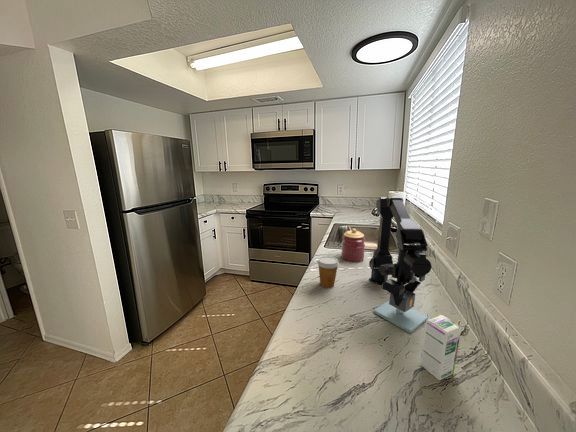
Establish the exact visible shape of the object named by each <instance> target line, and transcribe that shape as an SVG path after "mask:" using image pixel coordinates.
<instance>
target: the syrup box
mask: <svg viewBox="0 0 576 432" xmlns="http://www.w3.org/2000/svg"><path fill="white" fill-rule="evenodd" d="M461 333H462V326H461V325H460V324H458V323H456V322H455V321H453V320H452V319H450V318H449V317H446V316H445V315H442V314H439V315H437V316H433V317H431V318H428V320H426V321H425V328H424V333H423V335H424V336H423V341H422V343H423V344H422V349H421V350H422V351H421V358H420V365H421V366H422V368H424V369H425V370H426V371H427V372H428V373H430V374H431V375H432V376H433V377H434V378H436V380H438V381H439V382H440V381H442V380H444V379H445V378H447V377H450V376H451V375H454V373H455V369H456V363H457V362H456V361H457V356H458V350H459V344H460V337H461Z"/></svg>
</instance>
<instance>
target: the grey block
mask: <svg viewBox="0 0 576 432" xmlns="http://www.w3.org/2000/svg"><path fill="white" fill-rule="evenodd" d="M405 291H406V294H405V296H404V298H403V299H402V301H401V303H400V304H399V306H397V305H395V302H394V298H393V294H392V293H390V292H389V293H390V294H389V300H388V301H389V304H390V305H392V306H394V307H395V308H397V309H399V310H401V311H403V312H406V311H408V310H409V309H413V308H414V306H415V300H416V293H415V292H410V291H408V290H406V289H405Z"/></svg>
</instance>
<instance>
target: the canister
mask: <svg viewBox="0 0 576 432" xmlns="http://www.w3.org/2000/svg"><path fill="white" fill-rule="evenodd" d="M341 239H342V242H341V253H340V256H341V258H342V259H343V260H344V259H345V260H344V261H347V260H348V261H347V262H351V261H353V262H352V263H357V262H358V263H359V262H362V261H363V260H364V258H365V247H366V244H365V241H366V238H365V234H364V233H362V232H361V231H359V230H357V229H356V228H352V229H351V230H347V231H346V232H344V233H343V236H342V237H341Z"/></svg>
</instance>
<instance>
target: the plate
mask: <svg viewBox="0 0 576 432" xmlns="http://www.w3.org/2000/svg"><path fill="white" fill-rule="evenodd" d="M373 313H374V314H375V315H378V316H379V317H381V318H383V319H384V320H386V321H388V322H390V323H392V324H393V325H395V326H397V327H398V328H400V329H401V330H404V331H406V332H408V333H409V334H412V333H414V332H415V331H416V330H417V329H418V328H419V327H421V326H422V325H423V324H424V323H426V320H428V319H429V317H428V316H427V315H425V314H423V313H421V312H419V311H417V310H415V309H413V308H411V309H409V310H408V311H406V312H404V313H403V314H402V315H398V314H396V308H395V307H394V306H392V305H390V304H389V300H388V301H386V302H384V303H383V304H381V305H379V306H378V307H376V308H374V309H373Z"/></svg>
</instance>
